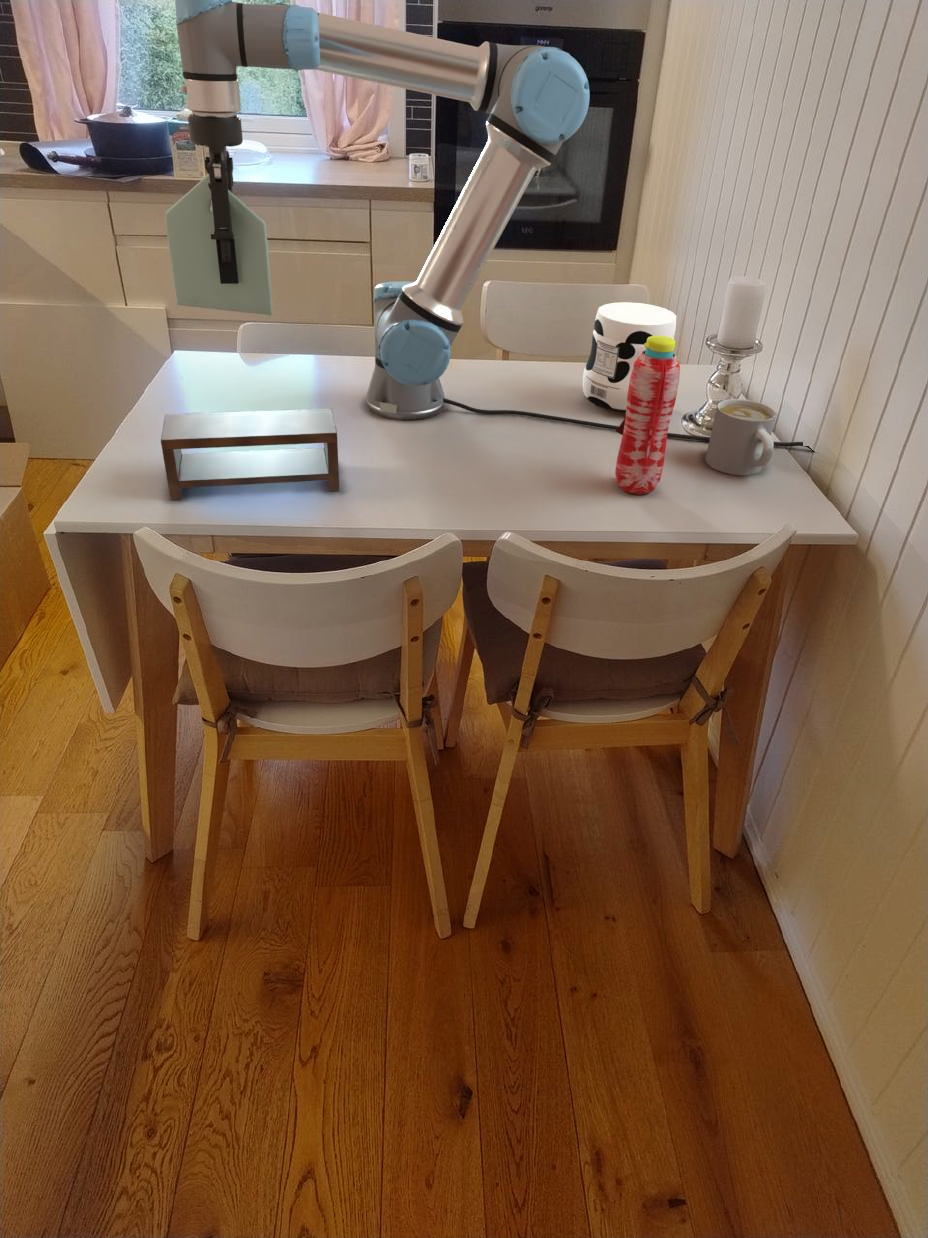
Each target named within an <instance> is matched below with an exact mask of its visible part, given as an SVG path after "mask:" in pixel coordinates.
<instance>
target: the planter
mask: <svg viewBox="0 0 928 1238" xmlns="http://www.w3.org/2000/svg"><path fill="white" fill-rule="evenodd" d="M208 182H209V183H210V177H209V174H206V175H205V176H204V177H202V179H200V181H199V182H197V184H196V185H194V186H193V187H192V188H191V189H190V190H189V191H188V192H186V193H185V194H184V195H183V196H182V197H181V198H180V199H178V201H176V202H175V203H174V204H173V205H172V206H171V207H170V208H168V209H167V210H166V211H165V214H164V220H165V229H166V237H167V243H168V245H167V246H168V253H169V259H170V266H171V273H172V281H173V289H174V294H175V301H176V305H177V306H181V307H190V308H191V307H192V308H200V309H201V308H202V309H211V310H218V311H219V310H220V311H228V312H237V313H247V314H253V315H254V314H255V315H265V316H273V315H274V310H273V309H274V308H273V298H272V297H273V296H272V283H271V272H270V271H271V270H270V259H269V243H268V234H267V233H268V232H267V224H266V221H265V220H264V219H263V218H261V217H260V216H259V215H257V214H256V213H255V212H254V211H253V210H252V209H250V208H249V207H248V206H247V205H246V203H244V202H243V201H242V200H240V199H239V198H238V197H237V196H236V195H235V194H234V193H233V192H232V193H231V192H230V191H229V190H228V193H229V202H230V210H231V220H232V232H233V234H234V237H233V238H234V241H235V251H236V261H237V272H238V282H239V283H238V284H221V283H220V273H219V264H218V255H217V246H216V240H211V234H214V231H215V229H214V218H213V210H211V206H212V197H211V190H210V189H209V186H208ZM219 229H227V228H219Z"/></svg>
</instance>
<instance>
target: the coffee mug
mask: <svg viewBox="0 0 928 1238" xmlns="http://www.w3.org/2000/svg"><path fill="white" fill-rule="evenodd" d="M776 418H777V411H776V410H775V409H774V408H773V407H771V406H770V405H767V404H765V403H762V402H759V401H756V400H752V399H744V398H730V399H729V398H728V399H724V400H721V401H720V402H718V404H717V406H716V410H715V414H714V419H713V423H712V427H711V431H710V436H709V437H710V440H709V441H708V445H707V450H706V455H705V462H706V464H707V465H708V466H709V467H710V468H712V469H714V470H716V471H718V472H721V473H723V474H728V475H732V476H752V475H756V474H759V473H760V472H761V471H762V470H763V468H764V467H765V466H767V465H768V464H769V463H770V461H771V459H772V456H773V453H774V448H775V446H774V443H773V442H774V439H773V437H772V433H773V429H774V426H775V422H776Z"/></svg>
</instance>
